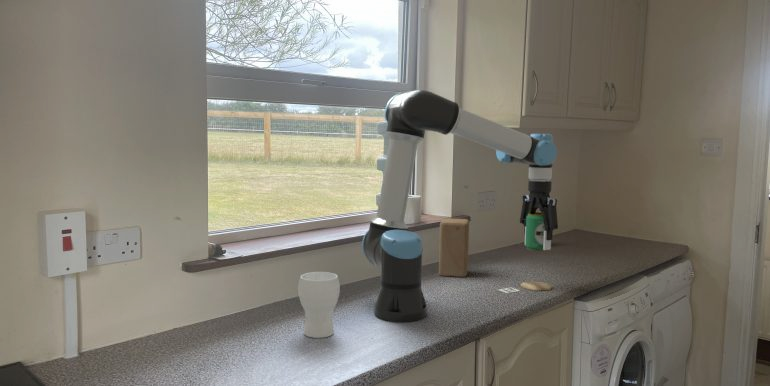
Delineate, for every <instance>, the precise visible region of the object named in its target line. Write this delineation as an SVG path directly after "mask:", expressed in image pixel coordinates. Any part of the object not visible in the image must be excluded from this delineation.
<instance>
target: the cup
mask: <svg viewBox="0 0 770 386" xmlns="http://www.w3.org/2000/svg"><path fill="white" fill-rule="evenodd" d="M339 281H340V280H339V276H338V274H336V273H333V272H328V271H312V272H311V271H310V272H307V273H303V274H301V275H300V277H299V281H298V285H297V289H298V290H297V291H298V292H297V295H298V298H299V302H300V304H301V306H302V308H303V310H304V315H305V323H304V330H303V334H304V335H305V336H306V337H309V338H314V339H315V338H316V339H319V338H328V337H330V336H332V335H334V334H335V329H334V321H333V317H334V316H333V314H334V309H335V307H336V305H337V304H338V301H339V297H340V294H341V289H340V288H341V286H340V285H341V284H340V282H339Z"/></svg>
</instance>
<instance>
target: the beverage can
mask: <svg viewBox="0 0 770 386" xmlns="http://www.w3.org/2000/svg"><path fill="white" fill-rule="evenodd" d="M549 227H550V226H549ZM544 229H546V228H545V224H544V218H543V215H542V213H541V212H539V211H538V212H537V211H536V213H535V214H530V213H528V216H527V217H526V242H525V241H524V246H525V247H526V249H527V250H528V251H535V252H546V251H548V250H543V237H544Z"/></svg>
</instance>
